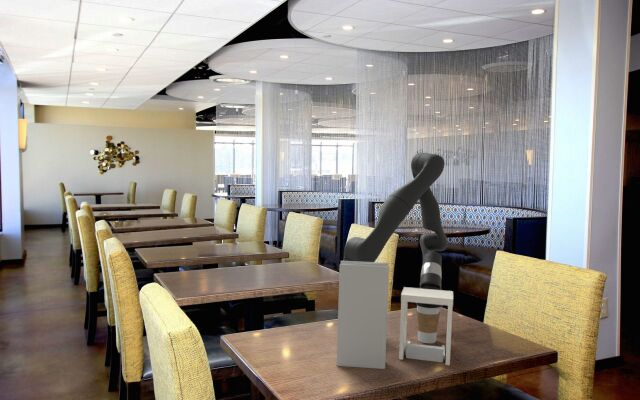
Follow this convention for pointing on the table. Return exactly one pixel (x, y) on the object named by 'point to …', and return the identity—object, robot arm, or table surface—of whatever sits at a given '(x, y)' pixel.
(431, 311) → the coffee cup
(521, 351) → the table surface
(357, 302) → the tall white box
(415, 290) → the white rectangular frame
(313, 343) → the table surface
